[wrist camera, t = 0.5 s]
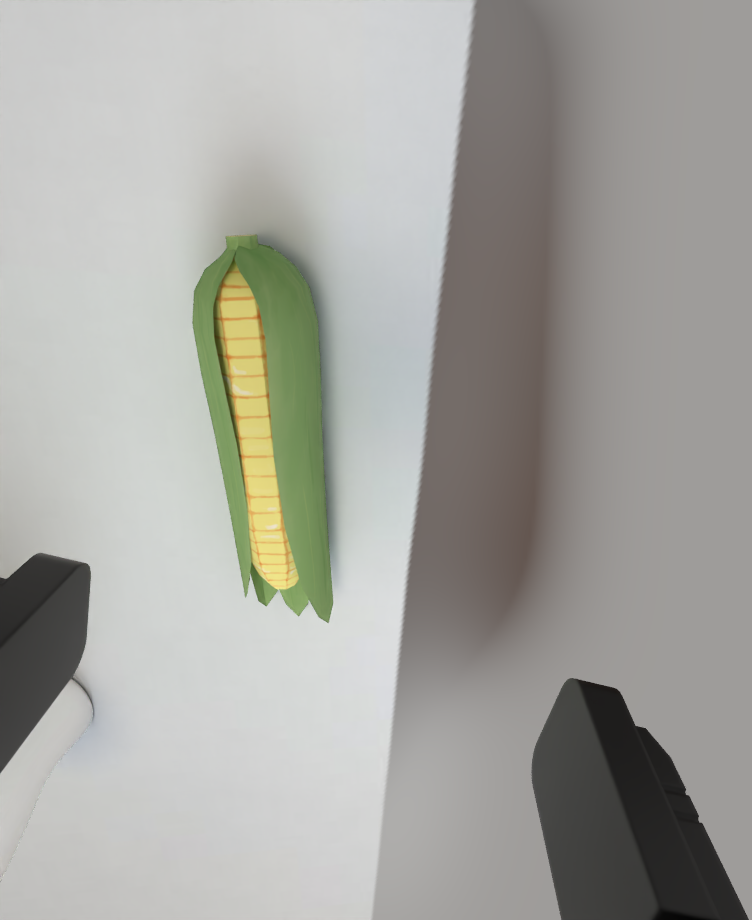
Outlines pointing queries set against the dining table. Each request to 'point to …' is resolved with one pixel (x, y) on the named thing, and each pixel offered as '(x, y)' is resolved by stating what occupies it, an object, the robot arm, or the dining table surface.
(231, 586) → the dining table surface
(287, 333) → the edible corn
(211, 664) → the dining table surface
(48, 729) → the beer glass
